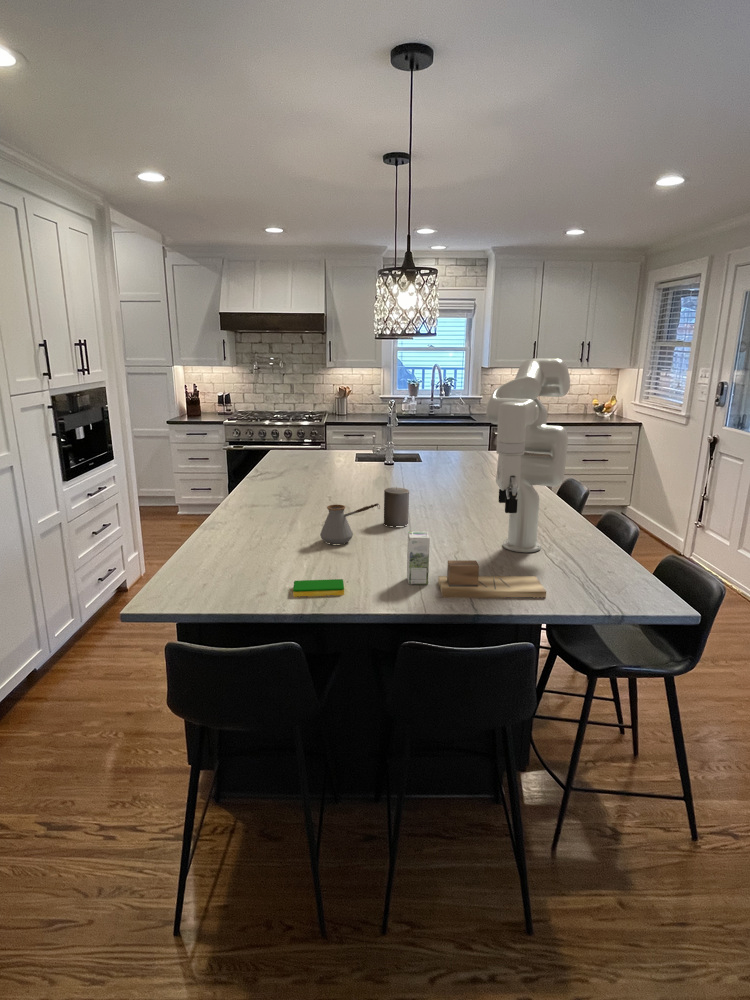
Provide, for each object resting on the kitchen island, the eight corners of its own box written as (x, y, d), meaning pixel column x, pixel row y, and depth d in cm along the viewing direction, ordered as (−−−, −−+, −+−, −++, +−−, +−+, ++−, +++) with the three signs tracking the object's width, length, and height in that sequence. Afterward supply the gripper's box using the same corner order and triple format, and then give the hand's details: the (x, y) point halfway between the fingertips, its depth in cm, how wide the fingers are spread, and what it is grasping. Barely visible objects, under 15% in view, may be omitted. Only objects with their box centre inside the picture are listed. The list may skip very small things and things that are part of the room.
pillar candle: (379, 525, 222) (379, 487, 218) (390, 519, 230) (391, 482, 226) (402, 529, 217) (403, 491, 213) (412, 523, 226) (413, 485, 222)
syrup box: (426, 577, 170) (427, 530, 167) (428, 585, 164) (429, 536, 161) (406, 577, 170) (407, 530, 166) (408, 585, 164) (409, 537, 161)
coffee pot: (315, 545, 198) (314, 503, 195) (326, 535, 209) (325, 495, 205) (375, 550, 193) (375, 507, 190) (383, 540, 204) (383, 499, 200)
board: (438, 582, 167) (438, 575, 166) (534, 582, 167) (535, 576, 166) (442, 597, 156) (442, 591, 156) (545, 597, 156) (546, 591, 156)
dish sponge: (294, 588, 163) (294, 580, 163) (343, 586, 165) (343, 578, 164) (293, 598, 156) (293, 590, 156) (344, 596, 158) (344, 588, 157)
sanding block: (447, 580, 163) (447, 560, 162) (475, 580, 163) (476, 560, 162) (449, 586, 159) (449, 566, 157) (477, 586, 159) (478, 566, 157)
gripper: (491, 442, 166) (489, 499, 171) (502, 454, 149) (499, 517, 154) (517, 441, 166) (514, 499, 171) (531, 454, 149) (527, 516, 154)
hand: (507, 507), depth 162 cm, fingers open, 9 cm apart
